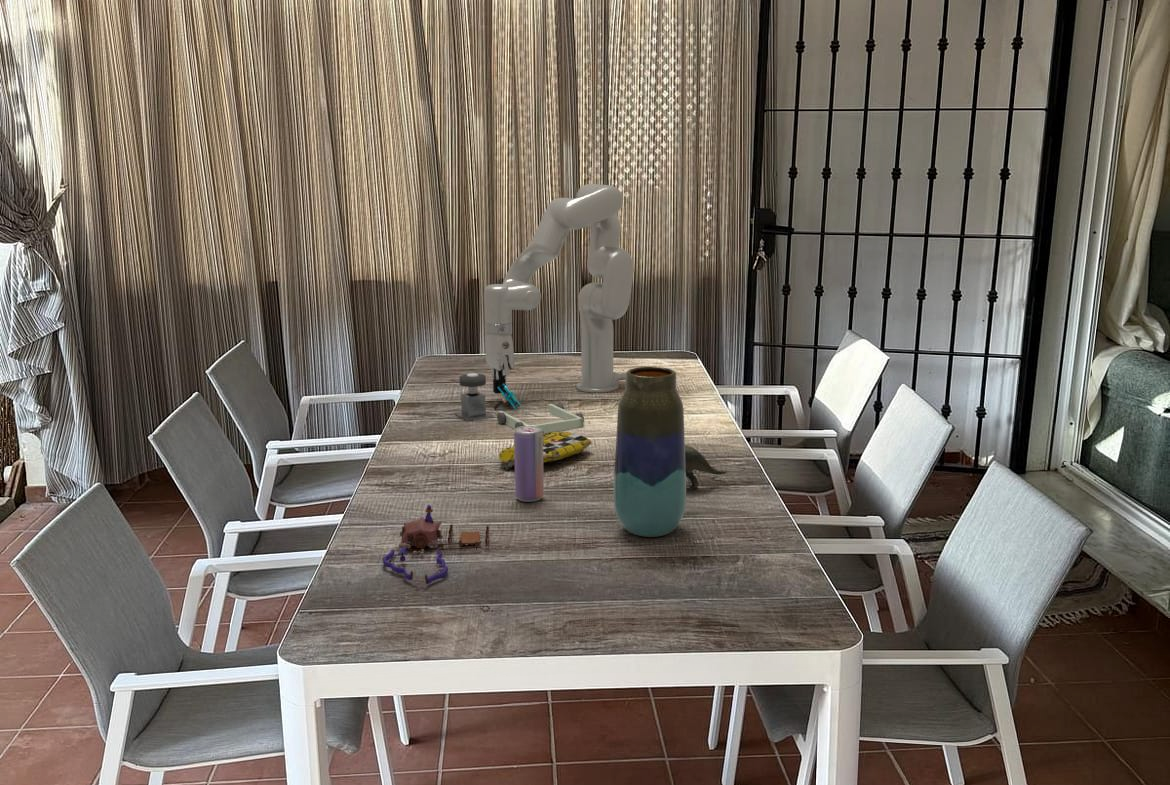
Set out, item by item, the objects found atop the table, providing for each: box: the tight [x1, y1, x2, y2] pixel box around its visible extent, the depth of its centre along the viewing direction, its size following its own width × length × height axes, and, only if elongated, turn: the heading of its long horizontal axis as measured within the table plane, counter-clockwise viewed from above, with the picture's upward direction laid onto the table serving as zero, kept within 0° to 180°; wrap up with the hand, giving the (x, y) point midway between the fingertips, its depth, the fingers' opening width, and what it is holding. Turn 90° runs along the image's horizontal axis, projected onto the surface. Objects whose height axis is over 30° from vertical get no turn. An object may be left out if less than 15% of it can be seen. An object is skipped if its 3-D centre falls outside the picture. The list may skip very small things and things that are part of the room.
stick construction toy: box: [492, 383, 522, 410], centre depth 290 cm, size 12×7×8 cm
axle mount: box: [454, 391, 494, 422], centre depth 282 cm, size 8×8×6 cm
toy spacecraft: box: [498, 431, 592, 471], centre depth 244 cm, size 17×23×5 cm
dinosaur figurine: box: [685, 444, 728, 490], centre depth 222 cm, size 22×8×11 cm, turn 71°
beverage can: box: [513, 426, 545, 503], centre depth 216 cm, size 6×6×15 cm
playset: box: [382, 504, 490, 585], centre depth 188 cm, size 25×19×7 cm
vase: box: [613, 366, 687, 538], centre depth 196 cm, size 14×14×31 cm
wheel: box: [459, 372, 487, 394], centre depth 281 cm, size 7×7×5 cm
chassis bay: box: [496, 403, 585, 434], centre depth 274 cm, size 19×18×3 cm
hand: (499, 392), depth 294 cm, fingers closed
